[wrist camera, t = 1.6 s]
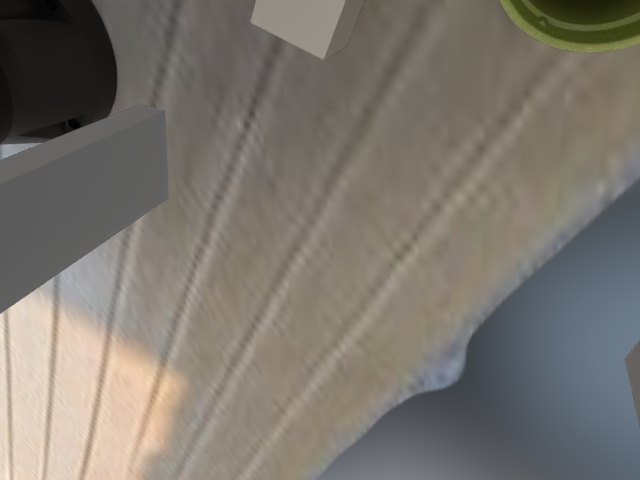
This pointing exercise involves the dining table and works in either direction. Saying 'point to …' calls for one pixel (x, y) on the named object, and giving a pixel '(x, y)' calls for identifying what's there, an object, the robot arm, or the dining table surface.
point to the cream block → (309, 22)
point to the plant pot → (578, 23)
